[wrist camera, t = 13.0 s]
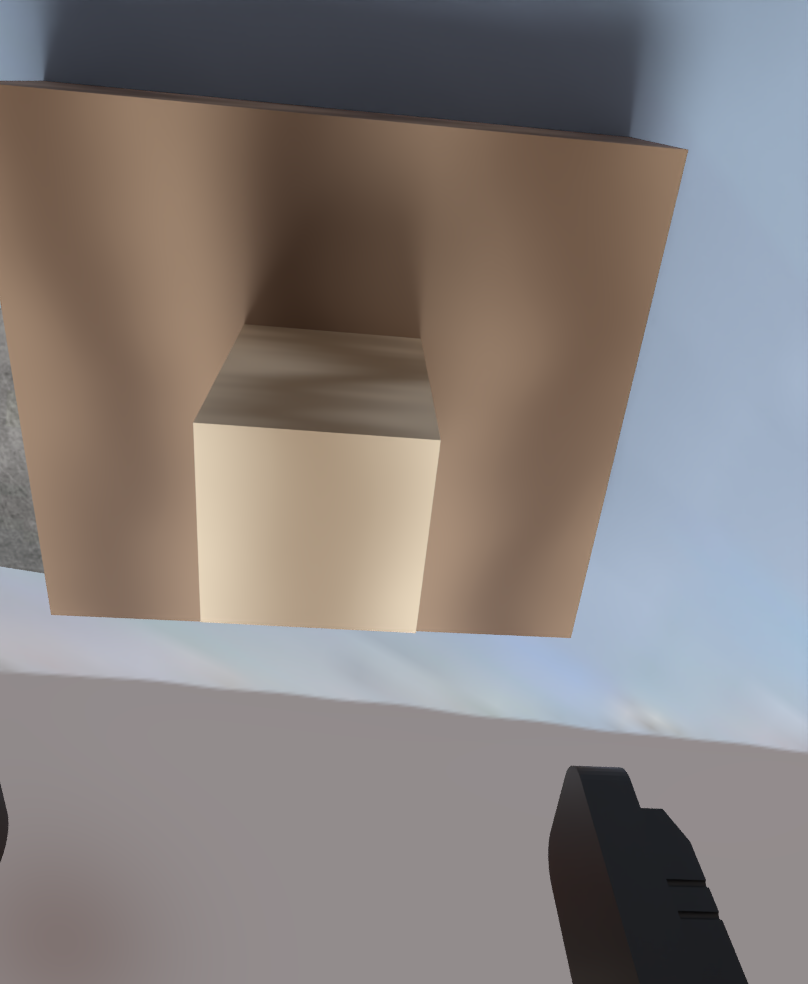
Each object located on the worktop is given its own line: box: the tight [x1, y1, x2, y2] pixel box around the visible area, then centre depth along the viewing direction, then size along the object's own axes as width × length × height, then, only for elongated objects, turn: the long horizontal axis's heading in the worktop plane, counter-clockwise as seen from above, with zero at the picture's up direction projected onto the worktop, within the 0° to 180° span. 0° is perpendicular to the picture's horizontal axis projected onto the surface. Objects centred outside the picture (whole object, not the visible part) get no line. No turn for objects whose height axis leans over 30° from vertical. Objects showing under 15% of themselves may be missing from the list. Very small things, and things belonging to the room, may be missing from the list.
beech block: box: [193, 324, 441, 633], centre depth 20 cm, size 5×5×7 cm
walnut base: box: [0, 81, 688, 638], centre depth 25 cm, size 18×16×5 cm
